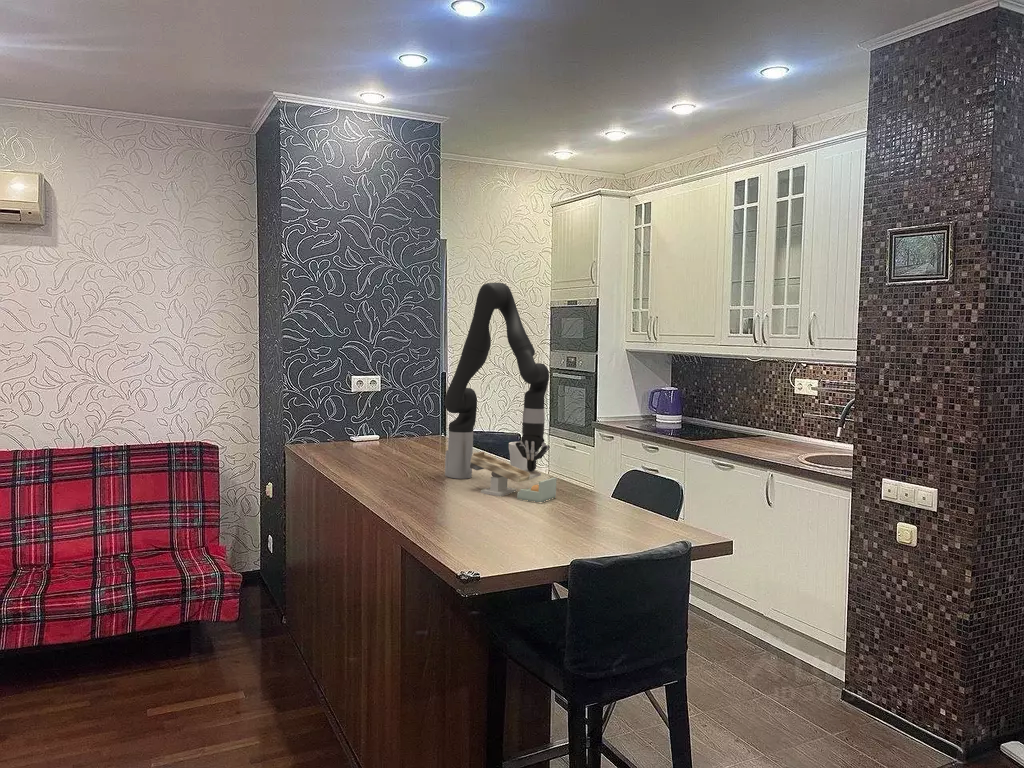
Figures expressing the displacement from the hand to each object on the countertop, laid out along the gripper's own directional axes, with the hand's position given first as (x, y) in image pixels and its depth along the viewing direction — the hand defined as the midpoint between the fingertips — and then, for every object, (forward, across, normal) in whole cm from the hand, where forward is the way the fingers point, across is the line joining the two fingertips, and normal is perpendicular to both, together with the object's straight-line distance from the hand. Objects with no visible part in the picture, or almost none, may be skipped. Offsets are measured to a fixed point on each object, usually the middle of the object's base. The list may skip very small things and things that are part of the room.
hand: (531, 470), depth 273 cm
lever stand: (+7, -7, -9) cm, 14 cm away
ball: (+4, +8, -9) cm, 13 cm away
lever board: (+2, -8, -5) cm, 10 cm away
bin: (+7, +8, -9) cm, 14 cm away
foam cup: (+8, -15, +18) cm, 25 cm away
